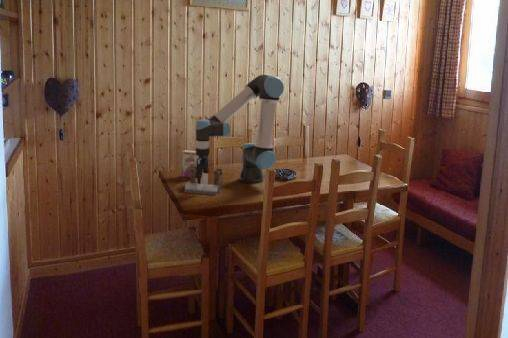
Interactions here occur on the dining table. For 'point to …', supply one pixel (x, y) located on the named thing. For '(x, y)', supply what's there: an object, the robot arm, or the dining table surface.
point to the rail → (204, 186)
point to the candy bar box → (188, 162)
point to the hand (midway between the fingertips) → (202, 186)
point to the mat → (200, 192)
